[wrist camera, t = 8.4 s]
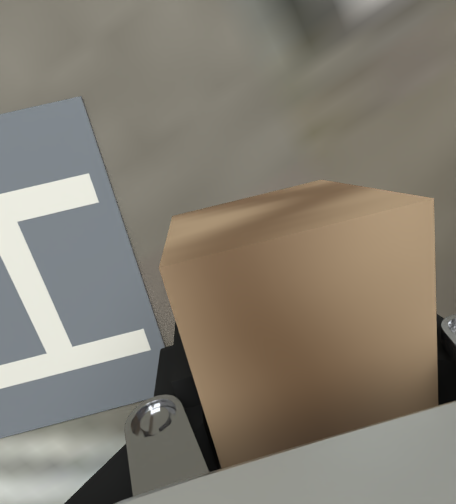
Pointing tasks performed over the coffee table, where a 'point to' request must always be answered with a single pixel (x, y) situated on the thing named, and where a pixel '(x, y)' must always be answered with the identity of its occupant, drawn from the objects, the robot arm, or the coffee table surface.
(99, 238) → the letter card
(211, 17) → the coffee table surface
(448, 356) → the robot arm
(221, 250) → the walnut block
